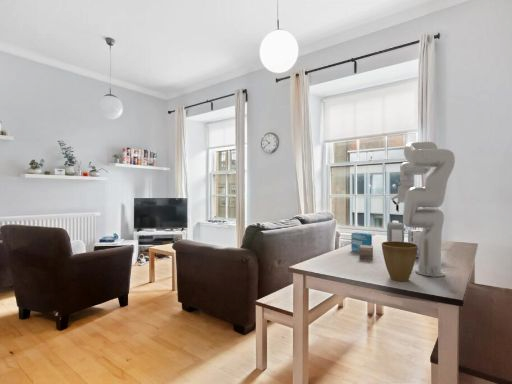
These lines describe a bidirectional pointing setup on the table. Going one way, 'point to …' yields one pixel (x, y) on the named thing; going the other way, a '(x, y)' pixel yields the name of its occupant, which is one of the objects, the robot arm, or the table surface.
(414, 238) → the candy box
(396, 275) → the plant pot
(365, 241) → the data package
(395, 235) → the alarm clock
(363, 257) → the beige cube
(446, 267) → the table surface
